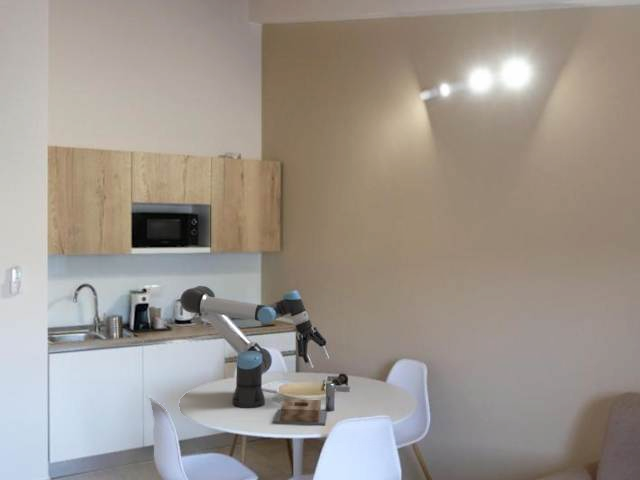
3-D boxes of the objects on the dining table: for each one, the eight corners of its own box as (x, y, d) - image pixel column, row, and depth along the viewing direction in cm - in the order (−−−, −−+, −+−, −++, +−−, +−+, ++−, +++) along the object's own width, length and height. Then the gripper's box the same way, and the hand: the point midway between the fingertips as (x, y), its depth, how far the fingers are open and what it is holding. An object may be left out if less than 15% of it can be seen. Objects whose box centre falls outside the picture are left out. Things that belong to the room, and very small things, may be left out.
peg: (325, 411, 304) (325, 384, 304) (325, 408, 308) (326, 382, 308) (334, 411, 304) (334, 385, 303) (334, 408, 308) (335, 382, 307)
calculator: (255, 390, 339) (255, 386, 339) (278, 382, 356) (278, 379, 356) (277, 394, 332) (277, 390, 332) (299, 386, 349) (299, 382, 349)
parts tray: (323, 390, 340) (323, 385, 340) (325, 380, 362) (325, 375, 362) (349, 391, 339) (349, 386, 339) (350, 381, 361) (350, 376, 361)
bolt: (331, 392, 344) (342, 385, 358) (339, 388, 342) (349, 381, 356) (326, 382, 345) (337, 375, 359) (334, 378, 343) (344, 371, 357)
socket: (273, 423, 284) (273, 409, 284) (278, 410, 302) (278, 397, 302) (325, 425, 283) (325, 411, 283) (327, 413, 301) (327, 399, 301)
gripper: (292, 327, 308) (310, 370, 307) (322, 312, 328) (338, 353, 327) (280, 331, 312) (298, 374, 311) (310, 317, 333) (327, 357, 332)
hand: (319, 363), depth 319 cm, fingers open, 13 cm apart
